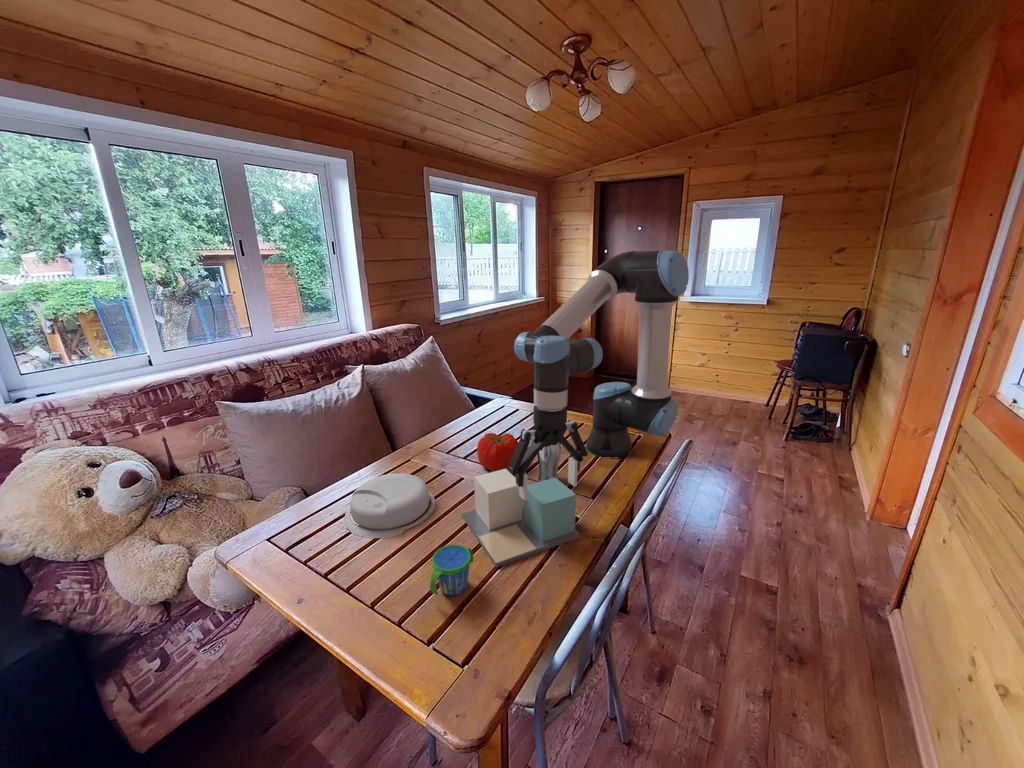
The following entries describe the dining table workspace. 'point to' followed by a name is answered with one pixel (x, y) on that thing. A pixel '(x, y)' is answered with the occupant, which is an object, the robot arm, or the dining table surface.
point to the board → (511, 539)
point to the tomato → (496, 451)
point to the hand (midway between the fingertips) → (548, 490)
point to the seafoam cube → (550, 509)
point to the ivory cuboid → (497, 498)
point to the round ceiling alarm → (388, 505)
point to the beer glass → (548, 462)
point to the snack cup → (451, 569)
